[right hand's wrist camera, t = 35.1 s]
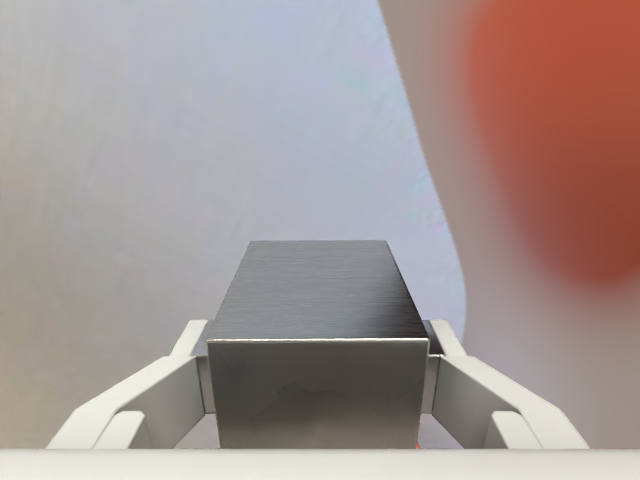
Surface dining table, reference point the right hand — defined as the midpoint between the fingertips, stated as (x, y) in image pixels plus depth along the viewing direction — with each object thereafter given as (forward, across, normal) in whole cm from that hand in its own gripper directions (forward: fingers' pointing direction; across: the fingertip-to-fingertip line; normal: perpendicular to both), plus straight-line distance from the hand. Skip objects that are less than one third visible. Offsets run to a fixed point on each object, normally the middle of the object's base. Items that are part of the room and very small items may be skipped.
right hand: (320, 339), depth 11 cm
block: (+2, 0, 0) cm, 2 cm away
